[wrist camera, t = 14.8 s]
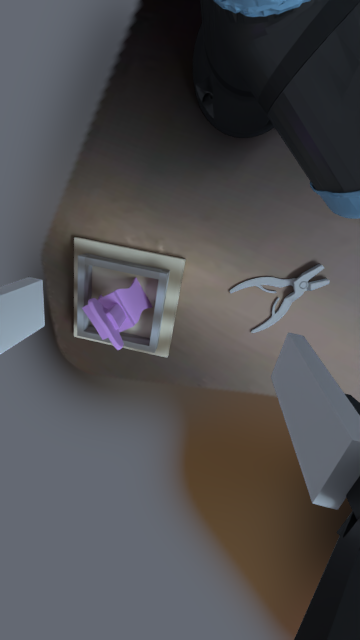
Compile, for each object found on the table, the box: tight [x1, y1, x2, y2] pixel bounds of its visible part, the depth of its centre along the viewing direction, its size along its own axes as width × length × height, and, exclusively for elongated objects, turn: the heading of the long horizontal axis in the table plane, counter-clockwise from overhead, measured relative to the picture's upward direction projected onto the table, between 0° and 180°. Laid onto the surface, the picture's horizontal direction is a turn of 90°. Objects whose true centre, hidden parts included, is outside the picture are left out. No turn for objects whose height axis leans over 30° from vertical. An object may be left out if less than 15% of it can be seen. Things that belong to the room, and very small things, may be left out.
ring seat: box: [74, 237, 186, 358], centre depth 47 cm, size 20×20×4 cm
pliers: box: [229, 264, 330, 333], centre depth 44 cm, size 10×2×15 cm
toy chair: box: [82, 278, 152, 350], centre depth 41 cm, size 8×9×15 cm
